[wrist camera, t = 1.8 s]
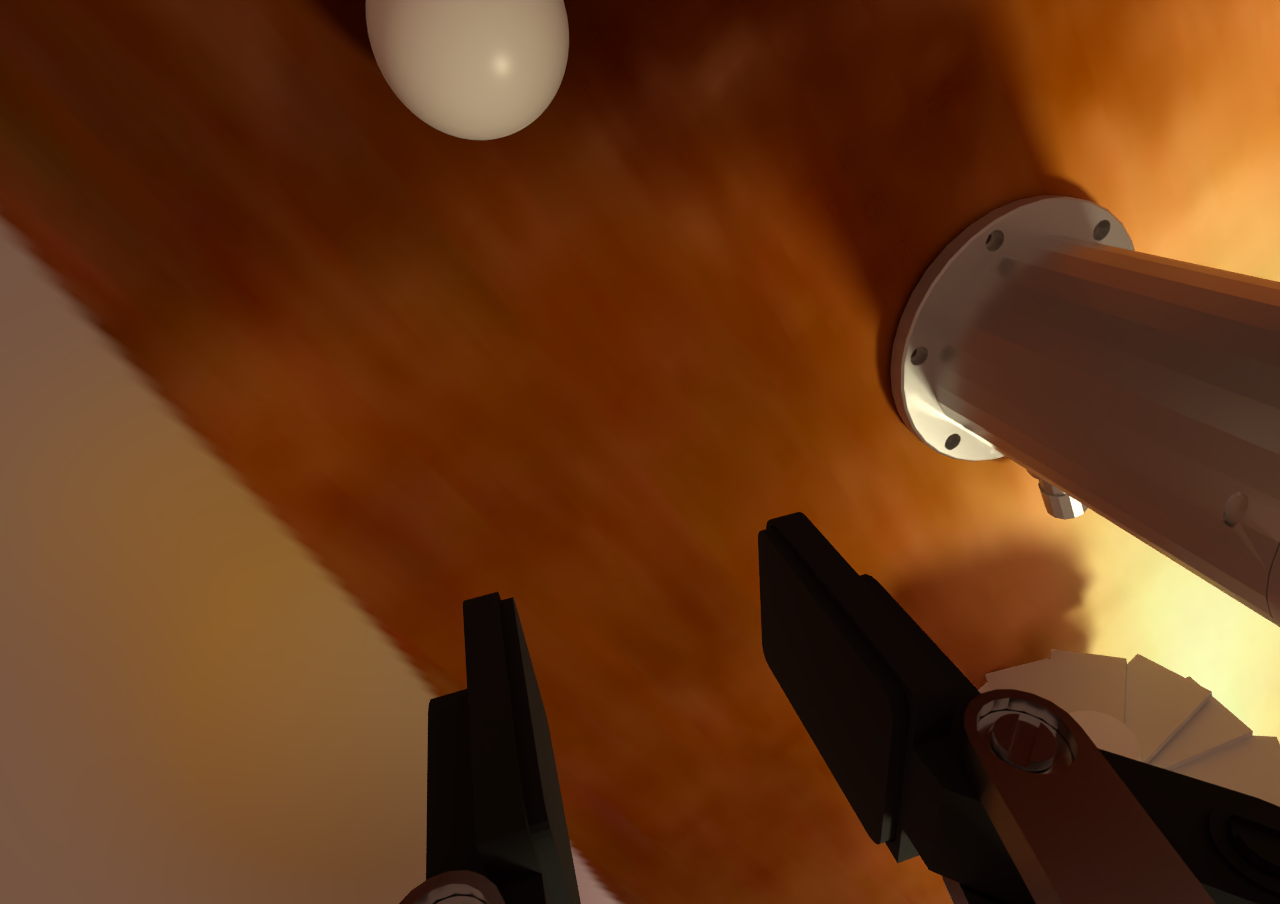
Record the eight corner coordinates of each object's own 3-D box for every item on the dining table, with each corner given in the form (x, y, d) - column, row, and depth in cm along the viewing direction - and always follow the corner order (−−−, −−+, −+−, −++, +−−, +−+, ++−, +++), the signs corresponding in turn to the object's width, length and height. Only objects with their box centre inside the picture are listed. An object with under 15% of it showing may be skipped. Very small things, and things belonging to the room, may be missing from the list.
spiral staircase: (1005, 577, 47) (1050, 773, 59) (866, 780, 40) (948, 956, 52) (1391, 693, 33) (1347, 922, 44) (1278, 1041, 26) (1262, 1202, 37)
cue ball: (586, 73, 22) (625, 65, 18) (453, 170, 23) (458, 188, 18) (482, -111, 20) (496, -178, 15) (332, 2, 20) (301, -28, 15)
